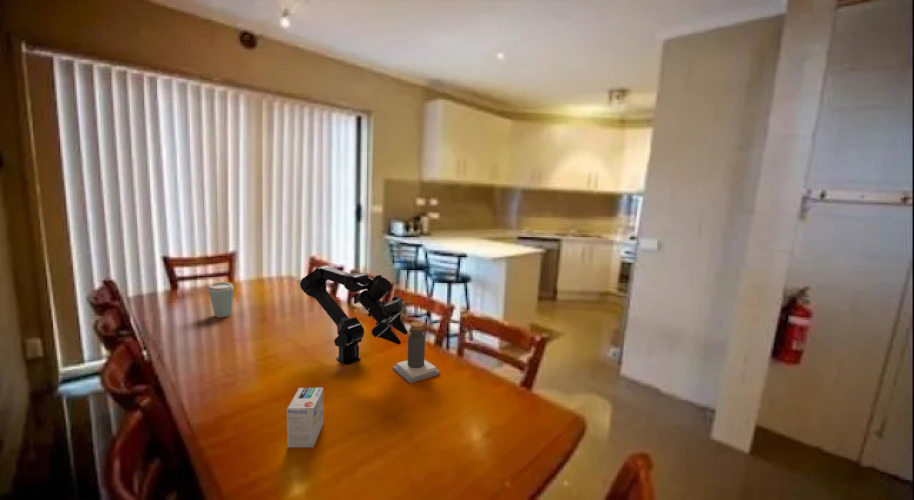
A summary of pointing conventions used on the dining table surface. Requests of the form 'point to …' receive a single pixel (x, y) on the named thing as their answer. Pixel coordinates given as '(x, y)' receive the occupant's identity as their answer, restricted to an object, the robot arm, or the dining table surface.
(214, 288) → the disposable coffee cup
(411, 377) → the pedestal
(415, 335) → the bottle
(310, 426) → the light bulb box
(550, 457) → the dining table surface
